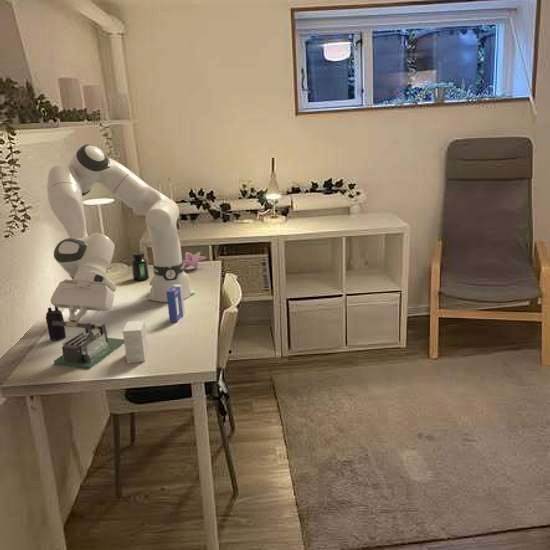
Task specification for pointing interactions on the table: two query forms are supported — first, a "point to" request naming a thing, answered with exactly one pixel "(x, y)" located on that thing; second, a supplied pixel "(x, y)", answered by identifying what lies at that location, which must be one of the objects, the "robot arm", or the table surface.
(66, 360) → the board
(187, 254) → the lily
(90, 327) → the lever
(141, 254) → the supplement bottle
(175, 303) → the walkman
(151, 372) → the table surface
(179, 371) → the table surface
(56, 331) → the two-way radio
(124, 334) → the small box
